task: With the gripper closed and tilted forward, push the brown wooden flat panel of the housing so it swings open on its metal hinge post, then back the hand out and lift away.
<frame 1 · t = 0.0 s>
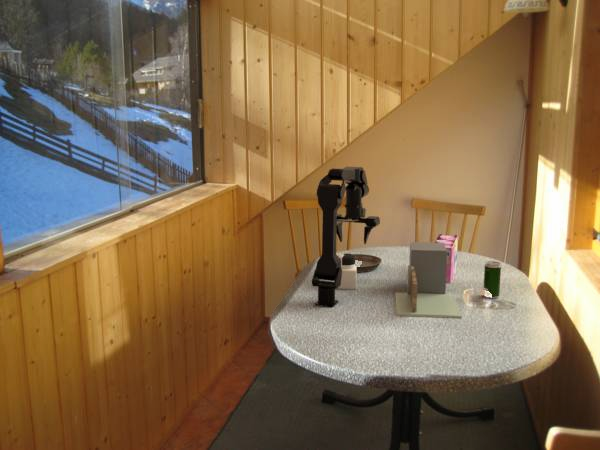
hand: (353, 242, 235), 15 cm above the table, tool pointing down, fingers open, 9 cm apart
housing: (410, 295, 220), on the table
plant saucer: (355, 268, 258), on the table
beer can: (491, 297, 219), on the table
gum box: (443, 275, 246), on the table
brown wooden flat panel: (413, 289, 209), point 5 cm above the table, hinge at 0.0°
medicine bottle: (346, 287, 231), on the table
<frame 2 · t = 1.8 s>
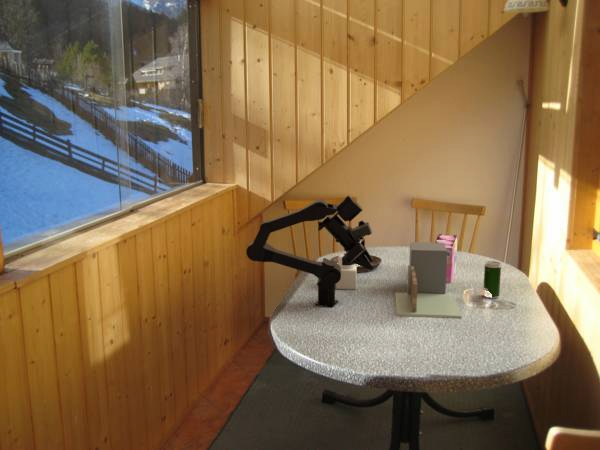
hand: (372, 265, 208), 14 cm above the table, tool tilted 45°, fingers open, 9 cm apart
nothing on the table moved.
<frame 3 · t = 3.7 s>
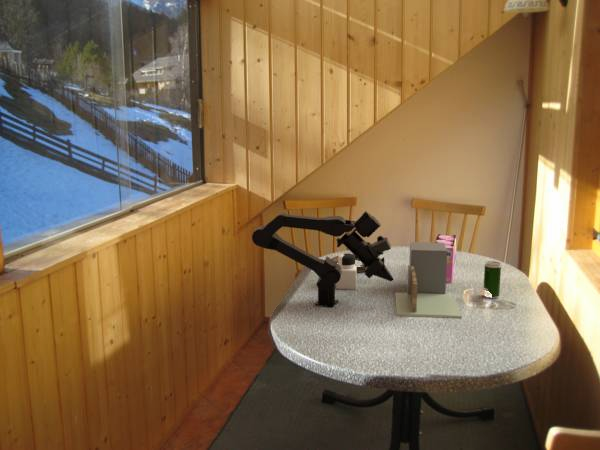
hand: (392, 280, 208), 9 cm above the table, tool tilted 45°, fingers closed
nothing on the table moved.
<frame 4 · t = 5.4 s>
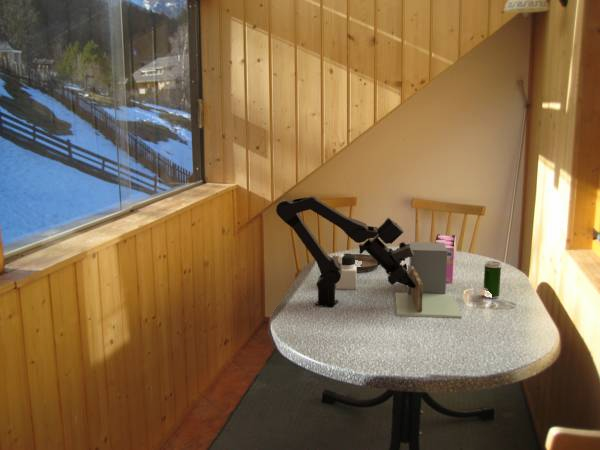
hand: (414, 286, 207), 7 cm above the table, tool tilted 45°, fingers closed, pressing on brown wooden flat panel
brown wooden flat panel: (416, 289, 209), point 5 cm above the table, hinge at 5.1°, touching gripper
everything else where it was.
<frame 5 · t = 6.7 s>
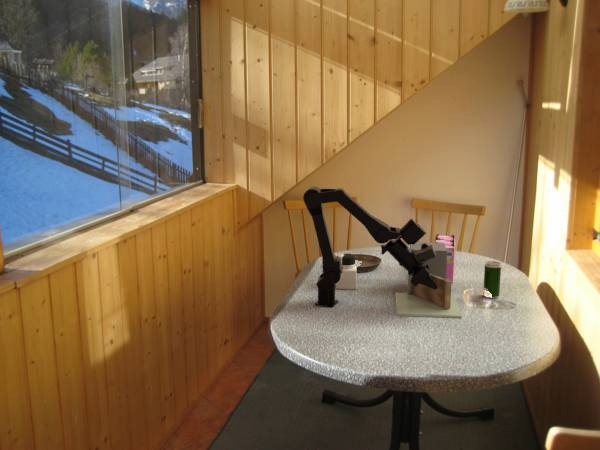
hand: (436, 288, 207), 7 cm above the table, tool tilted 45°, fingers closed
brown wooden flat panel: (431, 287, 211), point 5 cm above the table, hinge at 35.1°, touching gripper
everything else where it was.
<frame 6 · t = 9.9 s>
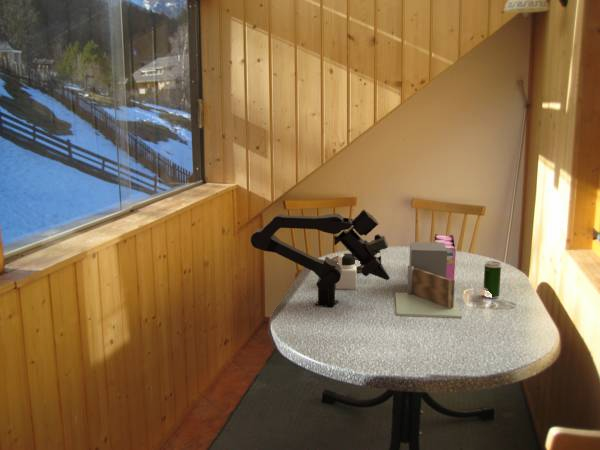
hand: (388, 279, 208), 9 cm above the table, tool tilted 45°, fingers closed
brown wooden flat panel: (432, 287, 211), point 5 cm above the table, hinge at 39.3°
everything else where it was.
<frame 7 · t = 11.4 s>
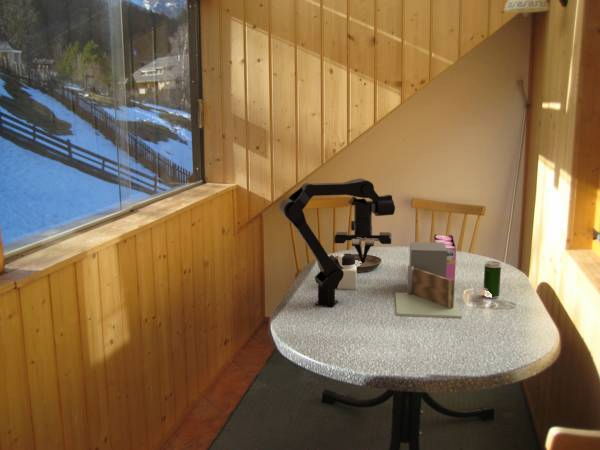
hand: (363, 262, 213), 13 cm above the table, tool pointing down, fingers closed
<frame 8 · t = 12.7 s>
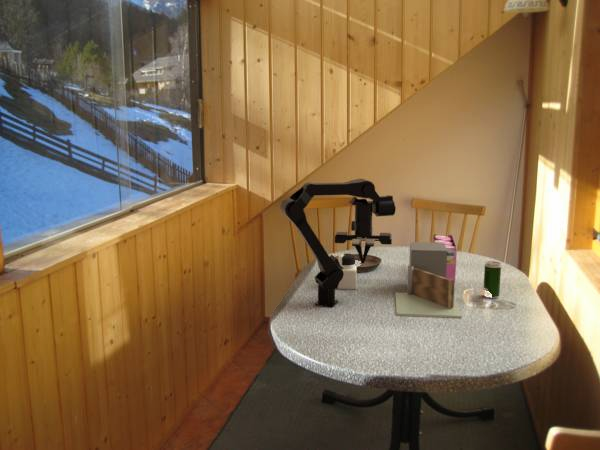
hand: (362, 263, 213), 13 cm above the table, tool pointing down, fingers closed
at the end: brown wooden flat panel at +39° (first picture: +0°) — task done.
